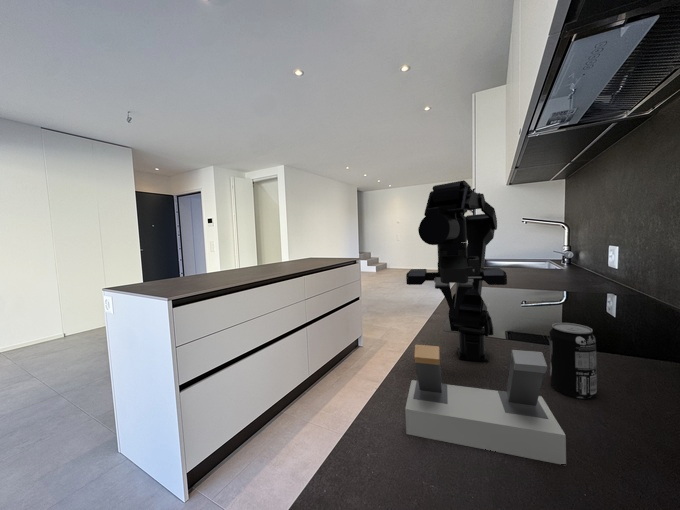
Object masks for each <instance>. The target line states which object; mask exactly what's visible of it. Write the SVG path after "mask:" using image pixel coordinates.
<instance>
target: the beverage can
mask: <svg viewBox="0 0 680 510" xmlns="http://www.w3.org/2000/svg"><path fill="white" fill-rule="evenodd" d="M551 327H552V328H551V330H550V331H549V335H548V336H549V365H550V366H549V369H550V370H549V372H550V373H549V375H550V376H549V377H550V384H551V385H552V386H553V387H554V388H555V390H557V391H558V392H559V393H562V394H564V395H565V396H569V397H573V398H575V399H576V398H577V399H591V398H592V397H593V396H595V395H596V394H597V393H598V392H597V391H598V390H597V389H598V382H597V378H598V375H597V374H598V373H597V369H598V368H597V338H596V336H595V335H594V333H593V332H594V331H593V328H591V327H589V326H587V325H582V324H578V323H573V322H572V323H571V322H556V323H552V325H551Z"/></svg>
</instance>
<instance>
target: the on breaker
mask: <svg viewBox="0 0 680 510" xmlns="http://www.w3.org/2000/svg"><path fill="white" fill-rule="evenodd" d="M510 357H511V359H510V364H509V373H508V380H507V385H506V392H507V397H508V401H509V402H511V403H519V404H526V405H533V406H536V405H537V401H538V397H539V396H540V392H541V388H542V383H543V380H544V376H545V374H546V373H547V368H548V365H547V362H546V359H545V357H544V354H543V352H542V351H535V350H534V351H533V350H520V349H519V350H518V349H517V350H516V349H511V355H510Z"/></svg>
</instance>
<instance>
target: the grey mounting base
mask: <svg viewBox="0 0 680 510" xmlns="http://www.w3.org/2000/svg"><path fill="white" fill-rule="evenodd" d="M404 409H405V411H404V412H405V414H404V415H405V431H406V432H405V434H406V435H409V436H414V437H420V438H425V439H429V440H434V441H438V442H439V441H440V442H446V443H450V444H455V445H460V446H465V447H471V448H476V449H481V450H485V449H486V451H490V450H491V452H495V451H496V452H495V453H500V454H507V455H509V456H517V457H520V458H526V459H531V460H536V461H539V462H540V461H542V462H546V463H547V462H548V463H552V464H557V465H561V464H566V465H567V445H566V444H567V442H566V440H567V437H566V434H565V431H564V430H563V428H562V427H561V426H560V424H559V422H558V421H557V419H556V417H555V415H554V414H553V412H552V411H551V410H550V409H551V408H549V406H548V404H547V402H546V400H545V399H544V398H543V396H542V395H539V397H538V401H537V405H536V406H533V405H526V404H519V403H511V402H509V401H508V397H507V390H506V391H504V390H493V389H485V388H480V387H479V388H477V387H471V386H470V387H469V386H462V385H453V384H447V383H442V393H437V392H430V391H423V390H420V389H419V382H418V379H417V380H415V379H411V382H410V386H409V391H408V394H407V399H406V404H405V408H404Z"/></svg>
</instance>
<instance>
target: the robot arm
mask: <svg viewBox="0 0 680 510" xmlns="http://www.w3.org/2000/svg"><path fill="white" fill-rule="evenodd" d="M472 210H480V211H481V212H482V213H479V214H471V215H470V214H469V215H466V216H465V214H466V213H468V211H472ZM423 215H424V217H423V218H422V219H421V221H420V223H419V226H418V229H417V230H418V235H419V237H420V239H421V241H423V242H424V243H425V244H426V245H431V246H436V247H437V271H434V272H433V271H432V272H431V271H428V272H427V268H414V269H413V268H411V269H409V271H407V273H406V277H405V278H406V285H408V286H409V285H410V286H411V285H412V286H414V285H417V286H418V285H419V286H422V285H424V283H425V282H430V281H431V282H434V289H439V290H440V291H441V293H442V295H443V296H444V298H445V300H446V302H447V305H448V308H449V310H448V321H449V326H450V331H451V332H456V333H457V332H458V344H459V347H457V348H456V350H457V356H458V359H459V360H464V361H475V362H486V363H488V362H489V358H488V355H487V351H486V349H485V348H486V347H485V337H487V338H488V337H489V336H494V325H493V320H492V317H491V315H490V313H489V311H488V307H487V304H486V303H485V300H484V299H483V297H482V288H483V282H484V283H486V284H487V285H489V286H506V285H508V277H507V272H506V271H505V270H503V269H502V268H500V267H485V259H486V250H487V249H486V248H487V245H489V243H491V241H492V240H493V239H494V236H495V232H496V230H497V229H498V220H497V213H496V209H495V207H493V206H492V205H491V204H490V203H489V202H487V201H486V198H485V195H484V193H480V192H475V191H474V190H473V189H472V186H471V185H470V184H469V183H468V182H467V181H465V180H458V181H453V182H447V183H442V184H436V185H433V187H432V190H431V191H430V192H429V195H428V199H427V203H426V206H425V209H424V214H423ZM450 283H452V284H453V283H456V285H455V293H454V294H452V290H451V285H450Z"/></svg>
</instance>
